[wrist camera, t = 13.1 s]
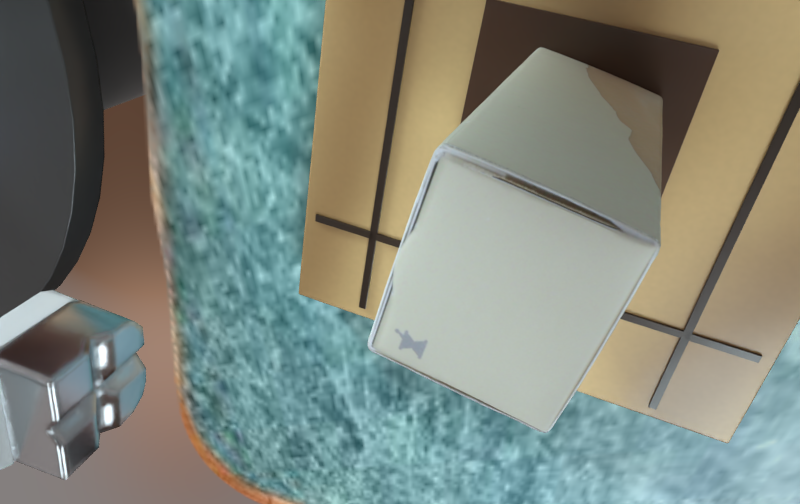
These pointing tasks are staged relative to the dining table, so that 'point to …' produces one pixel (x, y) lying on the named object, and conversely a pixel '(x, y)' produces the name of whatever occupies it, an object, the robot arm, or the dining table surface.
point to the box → (528, 239)
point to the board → (680, 186)
